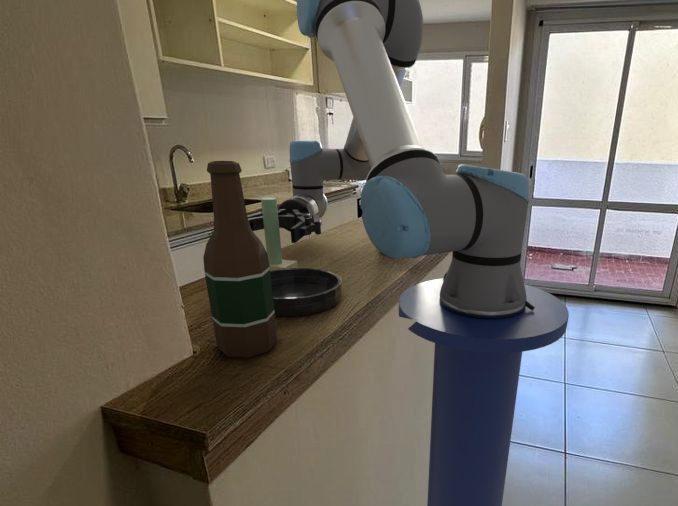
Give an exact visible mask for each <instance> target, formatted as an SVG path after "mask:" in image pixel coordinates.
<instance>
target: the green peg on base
mask: <svg viewBox="0 0 678 506" xmlns="http://www.w3.org/2000/svg"><path fill="white" fill-rule="evenodd" d="M260 202H261V211H262V213H263V222H264V229H263V231H264V242H265V250H266V252H267V255H268V260H269V265H270V271H274V270H279V269H290V268H299V267H298V261H297V260H293V259H283V253H282V242H281V232H280V228H279V220H278V200H277V197H262V198H260Z"/></svg>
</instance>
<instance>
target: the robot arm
mask: <svg viewBox="0 0 678 506" xmlns="http://www.w3.org/2000/svg"><path fill="white" fill-rule="evenodd" d="M296 18H297V19H296V20H297V27H298V29H299V32H300V34H301V35H302V36H305V37H308V38H309V39H312V38H316V41H317V44H318V46H319V48H320V50H321V52H322V53H323V55H324V56H325V57H326V58H327V59H329V60H330V61H332V62H334V65H335V68H336V70H337V74H338V77H339V79H340V82H341V86H342V88H343V91H344V95H345V97H346V100H347V103H348V105H349V108H350V112H351V114H352V120H351V123H350V126H349V129H348V133H347V136H346V140H345V142H344V143H345V144H344V146H343V148H326V147H323V146H322V143H321V141H320V140H316V139H294V140H291V141H290V143H289V164H290V175H291V176H290V177H291V184H292V187H291V189H292V197H289V198H288V199H285V200H284V201H282V202H281V203H280V204H279V206H278V207H277V209H278V220H279V229H284V230H286V231H288V232H290V241H291V244H296V243H298V242H299V241H300V240H301V239H302V238H304V237H306V236H310V235H312V233H314V234H315V235H322V226H323V225H322V217H324V215H325V213H326V212H327V210H328V207H329V206H328V198H327V196H326V195H325V194H324V193H325V192H324V181H325V182H326V181H365V183H364V186H363V187H362V190H361V193H360V201H359V205H360V206H359V207H360V209H361V211H362V214H361V220H362V224H363V227H364V230H365V232H366V235H367V236H368V239H369V240H370V242H371V244H372V245H373V246H374V247H375V249H376V250H378V251H379V253H380V254H383V255H385V256H387V257H389V258H393V259H401V258H402V259H403V258H409V259H417V258H420V257H423V256H430V255H438V254H445V253H451V252H452V253H451V254H452V255H451V261H450V264H449V266H448V269H447V271H446V272H445V273H444V275H443V277H442V278H443V280H444V281H443V280H442V281H443V284H442V286H441V290H440V299H439V301H440V304H441V305H442V306H443V307H444V308H445V309H446V310H448V311H450V312H452V313H455V314H458V315H461V316H465V317H469V318H476V319H488V320H494V319H506V318H511V317H514V316H517V315H519V314H521V313H522V312H524V310H525V308H526V307H528V308H529V309H530V310H532V311H533V310H534V308H535V307H534V306H533V305H531V304H530V303H529V302H527V299H526V298H527V297H526V290H525V285H524V284H525V281H524V277H523V272H522V267H521V260H522V254H523V253H522V251H523V245H524V236H525V230H526V224H527V223H526V222H527V214H528V208H529V203H530V199H529V192H530V182H529V178H528V176H526V174H524V173H523V172H516V171H509V170H503V169H498V168H489V167H485V166H484V167H483V166H477V165H471V164H464V163H463V164H462V163H461V164H458V166H457V169H456V171H455V174H445V173H444V171H443V168H442V166H441V163H440V161H439V157H438V156H437V154H436V153H435V152H433V151H432V150H430V149H429V148H428V149H427V148H424V147H423V145H422V144H423V143H422V142H421V140H420V136H419V133H418V131H417V129H416V126H415V123H414V121H413V118H412V116H411V114H410V110H409V107H408V105H407V103H406V100H405V97H404V94H403V92H402V89H401V87H402V84H403V81H404V78H405V76H406V73H407V70H408V69H411V68H412V67H413V66H414V65H415V64H416V62H417V60H418V57H419V53H420V51H421V48H422V43H423V36H424V16H423V9H422V6H421V2H420V0H296ZM247 217H248V221H249V224H250V227H251V230H252V231H253V232H255V231H256V232H257V231H262V230H264V222H263V213H262V210H260V211H258V212H256V213H255V212H254V213H251V214H247Z"/></svg>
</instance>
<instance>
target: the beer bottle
mask: <svg viewBox="0 0 678 506" xmlns="http://www.w3.org/2000/svg"><path fill="white" fill-rule="evenodd" d="M242 171H243V170H242V167H241V165H240V163H239V162H237V161H234V160H212V161H209V162H208V163H207V165H206V172H207V173H209V176H210V187H211V199H212V209H213V210H212V211H213V230H212V233H211V235H210V236H209V238H208V241H207V242H206V244H205V247H204V252H203V270H204V277H205V283H206V289H207V290H206V291H207V295H208V300H209V307H210V312H211V313H210V314H211V320H212V325H213V332H214V336H215V340H216V346H217V348H218V349H219V350H220V351H221V353H223V354H224V355H225V356H227V357H228V358H253V357H255V356H258V355H261V354H262V355H263V354H265V353H267V352H270V350H271V349H272V348H273V346H274V345H275V343H276V342H277V340H278V337H277V322H276V316H275V311H274V302H273V293H272V283H271V274H270V265H269V260H268V255H267V250H266V247H265V246H264V244H263V242H262V241H261V239H260V238H259V236H258V235H256V233H255V231H252V230H251V227H250V224H249V221H248V217H247V215H248V213H247V207H246V202H245V198H244V191H243V187H242V181H241V175H240V174H241V173H242Z"/></svg>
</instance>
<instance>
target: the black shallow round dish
mask: <svg viewBox="0 0 678 506" xmlns="http://www.w3.org/2000/svg"><path fill="white" fill-rule="evenodd" d="M270 274H271V283H272V293H273V302H274V311H275V317H285V318H286V317H300V316H307V315H308V316H309V315H314V314H317V313H321V312H323V311H326V310H328V309H331V308H332V307H334V306H336V305H337V304H338V302H339V301H340V300H341V299H342V296H343V281H342V278H341V277H340V276H339V275H338V274H336V273H334V272H332V271H328V270H326V269H325V270H324V269H321V268H320V269H319V268H310V267H298V268H290V269H279V270H274V271H270Z"/></svg>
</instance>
